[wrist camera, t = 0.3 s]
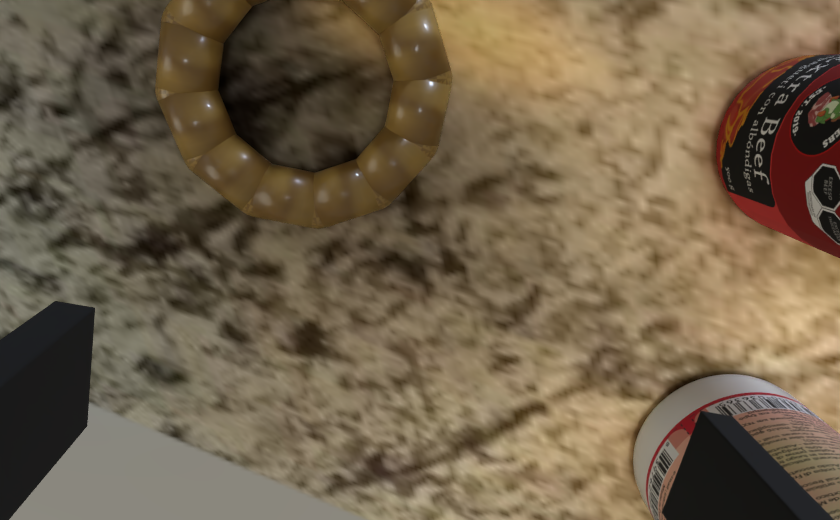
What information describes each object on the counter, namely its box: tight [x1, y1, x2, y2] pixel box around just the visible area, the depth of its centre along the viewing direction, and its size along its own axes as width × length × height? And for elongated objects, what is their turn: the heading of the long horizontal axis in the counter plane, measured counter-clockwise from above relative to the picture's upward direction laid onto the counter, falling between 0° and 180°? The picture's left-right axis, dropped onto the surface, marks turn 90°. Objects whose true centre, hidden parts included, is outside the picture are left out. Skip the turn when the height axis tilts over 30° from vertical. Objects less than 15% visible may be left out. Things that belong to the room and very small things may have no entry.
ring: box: [155, 0, 452, 229], centre depth 26 cm, size 12×12×2 cm
